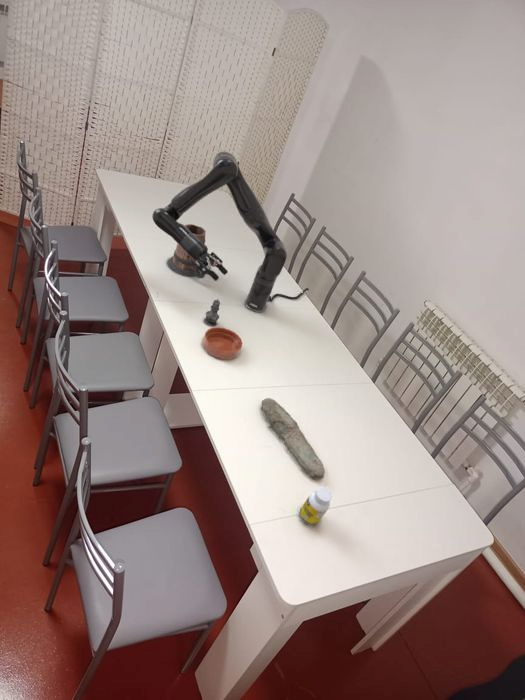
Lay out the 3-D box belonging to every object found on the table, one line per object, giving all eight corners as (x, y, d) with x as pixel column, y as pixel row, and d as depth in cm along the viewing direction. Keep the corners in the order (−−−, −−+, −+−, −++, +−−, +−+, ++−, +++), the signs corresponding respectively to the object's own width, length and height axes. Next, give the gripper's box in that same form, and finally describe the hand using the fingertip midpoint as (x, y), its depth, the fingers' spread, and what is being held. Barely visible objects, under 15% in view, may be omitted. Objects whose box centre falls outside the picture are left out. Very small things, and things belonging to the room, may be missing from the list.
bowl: (220, 331, 202) (223, 323, 199) (246, 352, 197) (249, 344, 194) (194, 342, 191) (197, 333, 188) (221, 365, 185) (224, 357, 183)
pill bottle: (297, 505, 147) (312, 482, 140) (317, 508, 149) (332, 486, 142) (300, 524, 142) (315, 502, 135) (320, 527, 144) (336, 505, 137)
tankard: (161, 257, 231) (169, 219, 220) (191, 256, 242) (201, 220, 230) (184, 286, 219) (194, 247, 207) (215, 283, 229) (226, 246, 218)
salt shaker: (214, 328, 202) (222, 305, 195) (201, 322, 202) (209, 299, 195) (218, 321, 207) (226, 298, 200) (206, 315, 207) (213, 292, 200)
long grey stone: (305, 487, 155) (327, 479, 161) (313, 478, 152) (334, 470, 158) (252, 404, 173) (273, 400, 179) (257, 394, 170) (279, 391, 176)
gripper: (190, 244, 186) (220, 275, 187) (206, 236, 198) (234, 265, 199) (179, 257, 190) (209, 287, 191) (196, 249, 202) (223, 277, 203)
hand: (222, 276), depth 195 cm, fingers open, 8 cm apart
